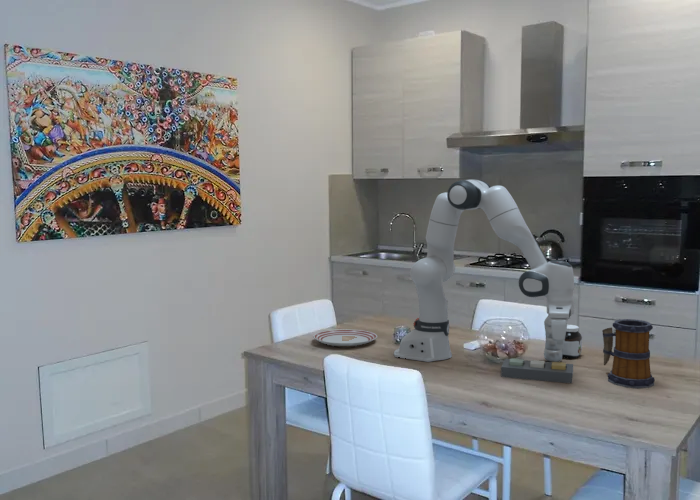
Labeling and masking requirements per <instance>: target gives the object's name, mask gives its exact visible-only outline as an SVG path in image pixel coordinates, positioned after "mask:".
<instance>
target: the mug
mask: <svg viewBox="0 0 700 500" xmlns="http://www.w3.org/2000/svg"><path fill="white" fill-rule="evenodd" d="M613 328H614V329H615V332H613ZM651 330H653V324H651V322H649V321H647V320H642V319H632V318H622V319H621V318H619V319H616V320H614V322H613V323H612V327H608V328H605V329H602V337H603V338H602V340H603V349H602V350H603V351H602V353H603V366H607V364H608V362H609V360H610V358H611V356H612V357H613V359H612V365H611V366H612V367H611V370H610V371H609V373H608V374H607V381H608V382H609V383H611V384H612V385H614V386H619V387H621V388H622V387H623V388H626V389H627V388H629V389H630V388H631V389H637V390H640V389H649V388H652V387H655V380H656V379H655V377H653V375H652V373H651V362H650V358H651V351H650V332H651ZM614 339H615V342H614ZM614 344H615V345H614Z"/></svg>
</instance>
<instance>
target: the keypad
mask: <svg viewBox="0 0 700 500" xmlns="http://www.w3.org/2000/svg"><path fill="white" fill-rule="evenodd" d="M510 359H511V358H505V359H504V361H503V362H502V365H501V366H500V376H501V377H500V378H508V379H521V380H530V381H531V380H532V381H543V382H551V383H562V384H573V379H574V378H573V377H574V364H573V363H566V370H559V369H552V362H550V361H545V366H544V368H536V367H530V363H531V360H526V359H524V365H523V366H513V365H509V361H510Z"/></svg>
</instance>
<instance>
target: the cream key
mask: <svg viewBox="0 0 700 500" xmlns="http://www.w3.org/2000/svg"><path fill="white" fill-rule="evenodd" d="M530 361H531V363H530V367H536V368H544V366H545V362H546V360H537V359H536V360H535V359H531V360H530Z"/></svg>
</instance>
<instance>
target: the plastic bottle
mask: <svg viewBox="0 0 700 500" xmlns="http://www.w3.org/2000/svg"><path fill="white" fill-rule="evenodd" d="M543 325H544V333H545V344H544V350H543V357H544V361H545V362H562V360H563V358H562V357H563V354H562V350H560V349H557V341H554V340H553V337H552V328H551V318H549V315H548V314H547V316H546V317H545V319H544V321H543Z"/></svg>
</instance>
